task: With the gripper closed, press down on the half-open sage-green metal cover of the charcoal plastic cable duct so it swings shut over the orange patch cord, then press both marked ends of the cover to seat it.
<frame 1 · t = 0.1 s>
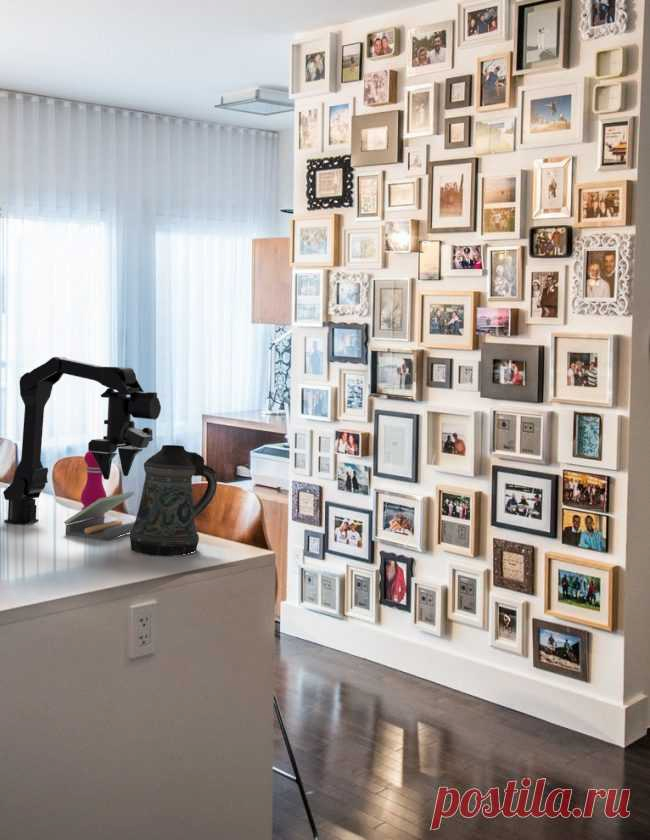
hand: (116, 477, 257), 15 cm above the countertop, fingers open, 9 cm apart
pepper mill: (93, 515, 286), on the countertop
duct cover: (99, 507, 259), point 6 cm above the countertop, hinge at 35.0°
beer stein: (168, 549, 244), on the countertop
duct: (103, 532, 259), on the countertop
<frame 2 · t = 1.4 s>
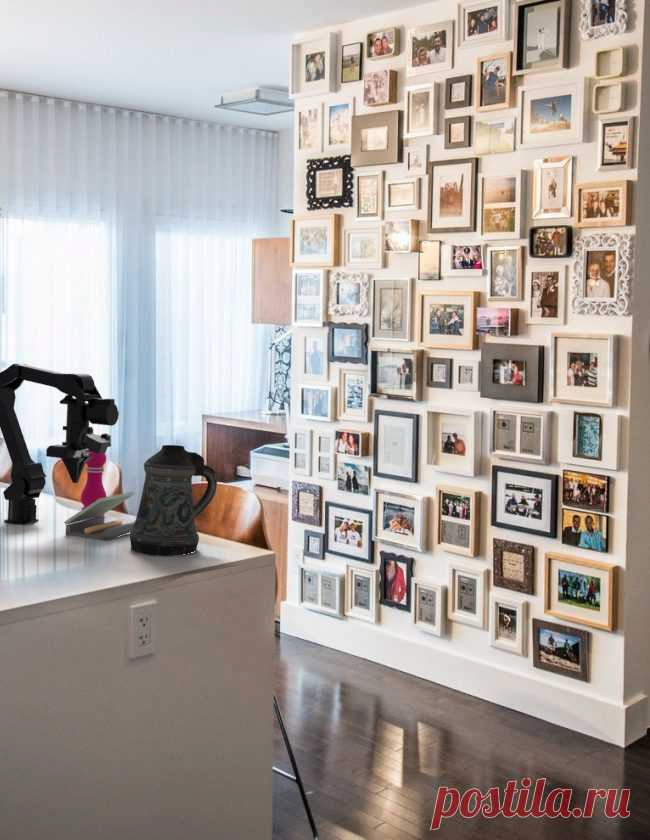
hand: (75, 482, 262), 12 cm above the countertop, fingers closed
nothing on the countertop moved.
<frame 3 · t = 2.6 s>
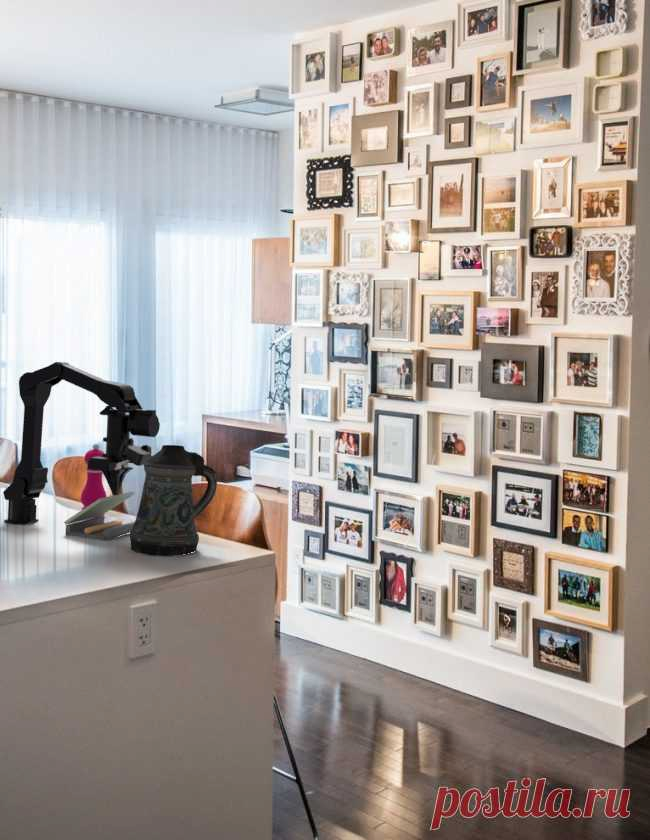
hand: (115, 495, 258), 10 cm above the countertop, fingers closed, pressing on duct cover
duct cover: (99, 507, 259), point 6 cm above the countertop, hinge at 35.0°, touching gripper
everything else where it was.
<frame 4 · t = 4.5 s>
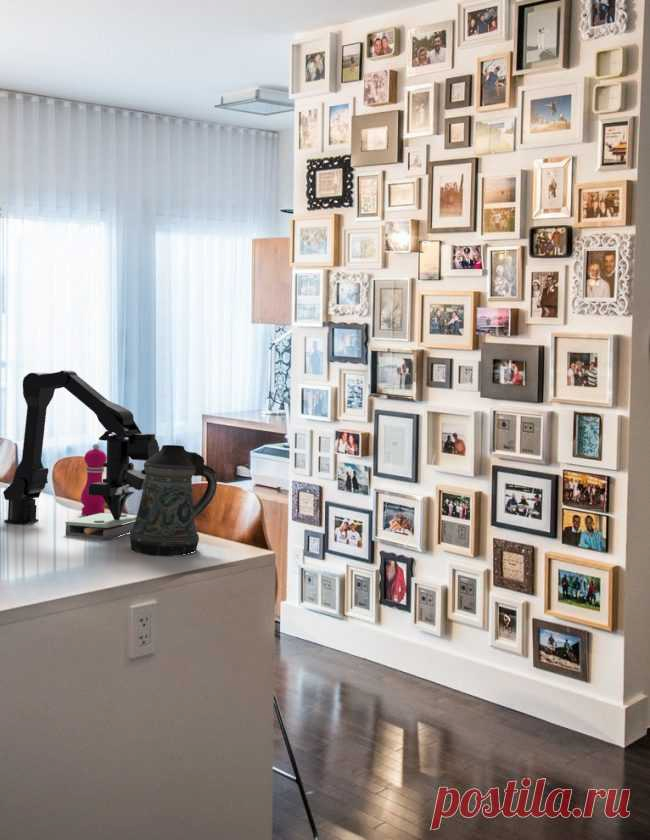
hand: (116, 519, 258), 4 cm above the countertop, fingers closed, pressing on duct cover
duct cover: (103, 519, 259), point 3 cm above the countertop, hinge at 2.7°, touching gripper
everything else where it was.
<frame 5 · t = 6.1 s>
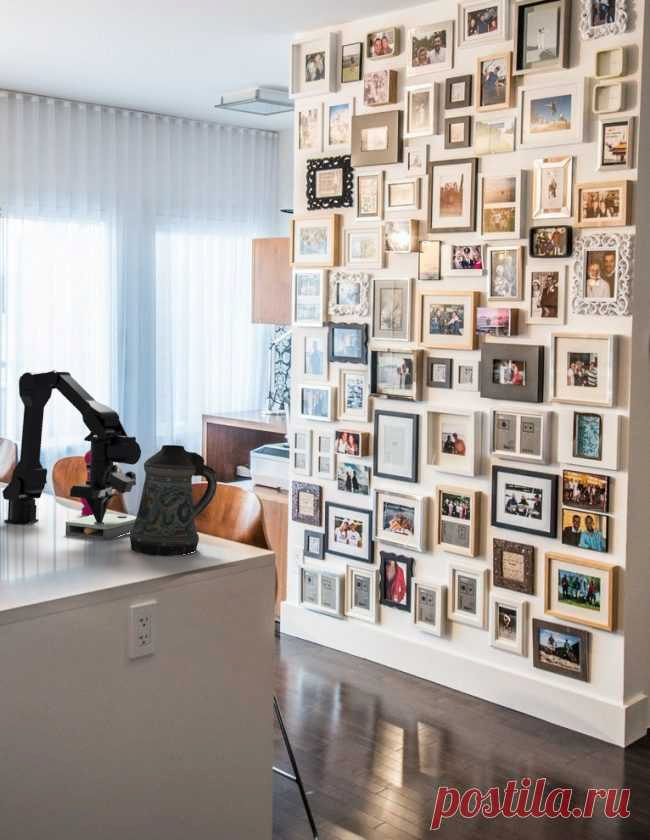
hand: (99, 522, 253), 4 cm above the countertop, fingers closed, pressing on duct cover
duct cover: (104, 520, 259), point 3 cm above the countertop, hinge at 0.4°, touching gripper
everything else where it was.
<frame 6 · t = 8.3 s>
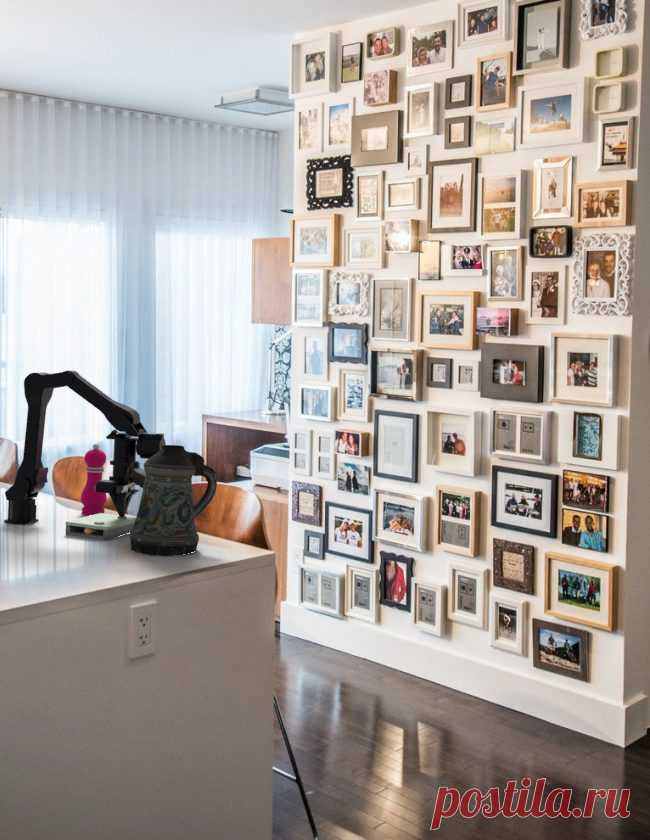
hand: (122, 516, 264), 4 cm above the countertop, fingers closed, pressing on duct cover
duct cover: (104, 520, 259), point 3 cm above the countertop, hinge at -0.2°, touching gripper
everything else where it was.
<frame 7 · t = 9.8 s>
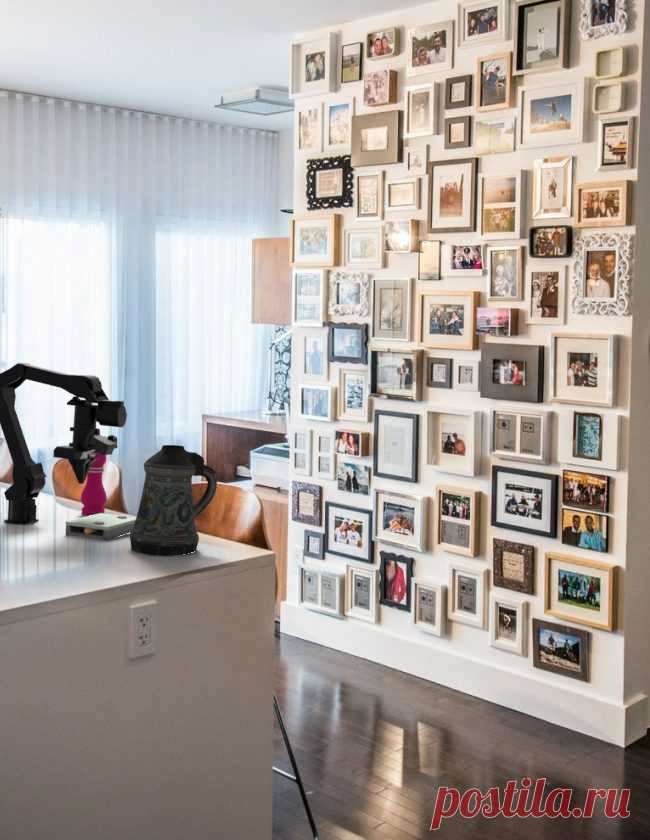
hand: (81, 483, 263), 12 cm above the countertop, fingers closed
duct cover: (104, 520, 259), point 3 cm above the countertop, hinge at -0.3°
everything else where it was.
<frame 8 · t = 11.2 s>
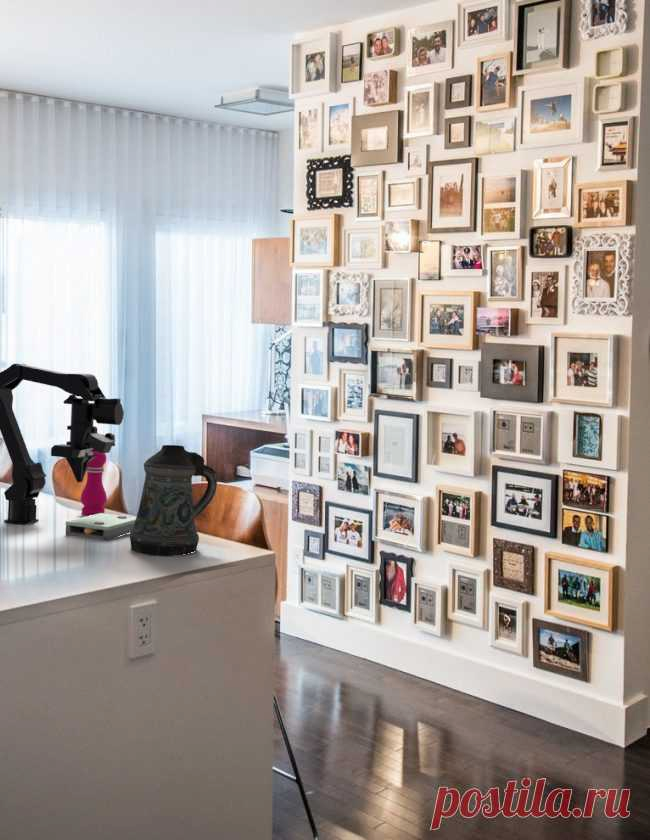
hand: (79, 482, 263), 12 cm above the countertop, fingers closed
nothing on the countertop moved.
at the end: duct cover at +0° (first picture: +35°); pepper mill moved 0.2 cm from its start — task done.
